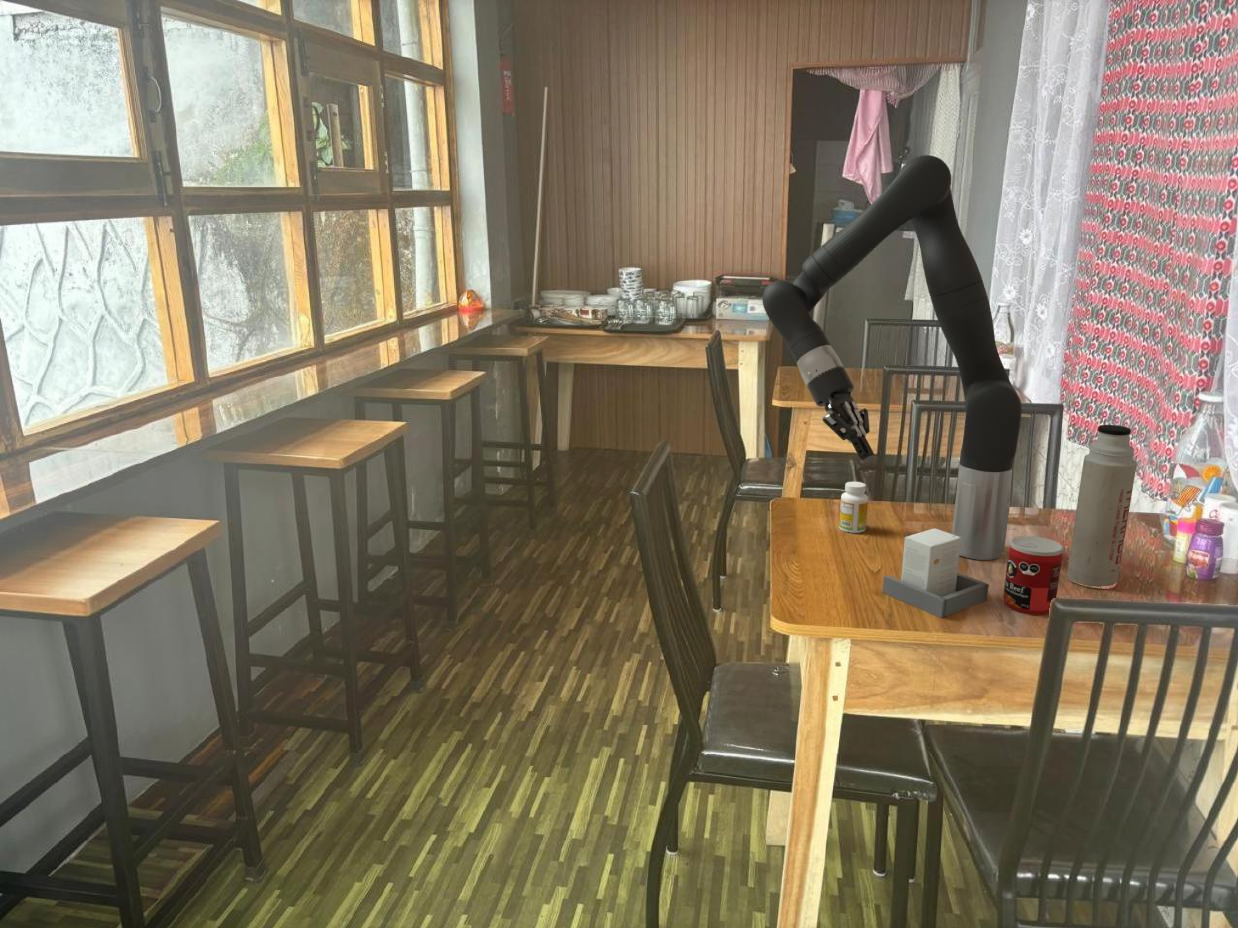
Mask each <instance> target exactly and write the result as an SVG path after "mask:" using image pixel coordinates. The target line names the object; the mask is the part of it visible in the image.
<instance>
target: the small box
mask: <svg viewBox="0 0 1238 928" xmlns="http://www.w3.org/2000/svg"><path fill="white" fill-rule="evenodd" d="M903 543H904V544H903V554H902V567H901V577H900V580H901V581H904V582H906V583H908V584H911V585H913V586H916V587H918V588H921V589H923V590H925V591H928V592H930V593H933V594H935V595H938V596H940V597H944V596H946V595H949V594H952V593H955V592H956V591H955V590H956V582H957V572H958V571H959V564H960V563H959V562H960V555H959V554H960V545H961V537H958V536H955V535H953V534H952V533H950V532H947V531H944V530H941V529H938V528H935V527H934V528H931V529H928V530H924V531H921V532H919V533H914V534H912V535H907V536H905V537H904V542H903ZM958 573H959V572H958Z"/></svg>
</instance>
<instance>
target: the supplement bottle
mask: <svg viewBox="0 0 1238 928" xmlns="http://www.w3.org/2000/svg"><path fill="white" fill-rule="evenodd" d="M866 487H867V485H866V484H865V483H864V482H861V481H847V482H846V483H845V486H844V489H845V492H842V494H841V496H840V497H841V498H840V510H839V520H838V521H839V523H838V524H839V525H838V527H839V530H840V531H843V532H845V533H848V532H849V533H848V534H860V533H861V534H862V533H864V532H865V531H867V519H868V509H869V507H868V506H869V497H868V495H867V494H866V493H865V492H866Z"/></svg>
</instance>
